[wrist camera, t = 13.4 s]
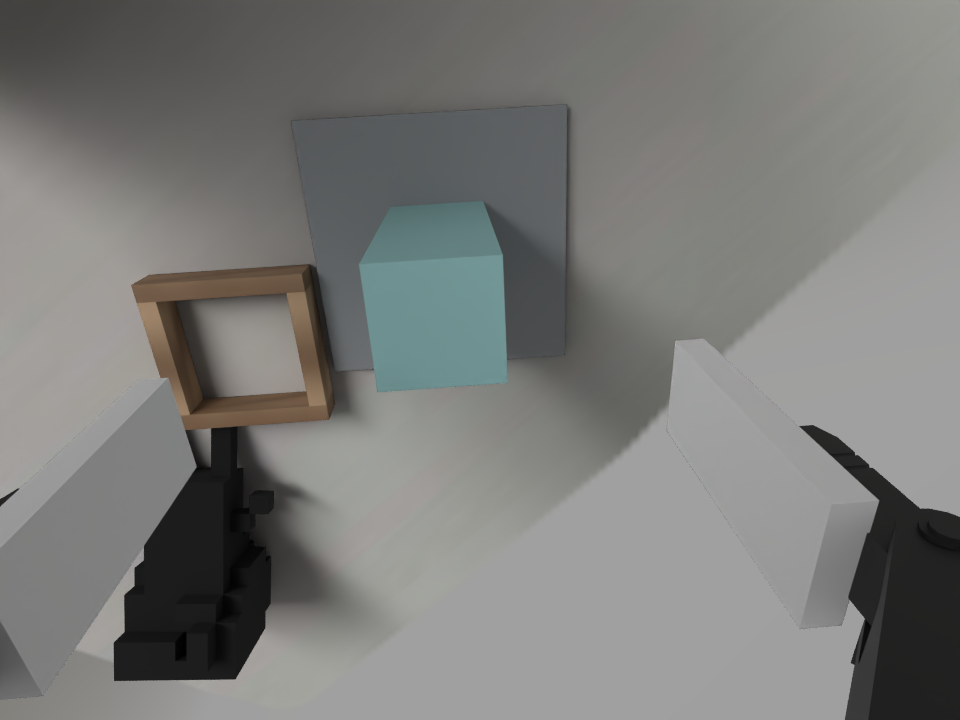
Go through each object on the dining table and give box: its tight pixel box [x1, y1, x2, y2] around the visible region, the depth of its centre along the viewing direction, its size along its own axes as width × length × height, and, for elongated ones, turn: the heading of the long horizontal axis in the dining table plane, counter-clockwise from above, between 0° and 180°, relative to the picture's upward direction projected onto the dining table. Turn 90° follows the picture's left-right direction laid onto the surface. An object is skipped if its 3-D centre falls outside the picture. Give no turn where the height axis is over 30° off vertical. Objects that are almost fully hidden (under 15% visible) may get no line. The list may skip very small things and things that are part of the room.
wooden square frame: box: [131, 264, 335, 430], centre depth 33 cm, size 9×9×2 cm
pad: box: [291, 104, 567, 371], centre depth 32 cm, size 14×14×1 cm
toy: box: [114, 426, 274, 681], centre depth 36 cm, size 9×8×15 cm
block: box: [359, 201, 508, 392], centre depth 26 cm, size 5×5×12 cm
